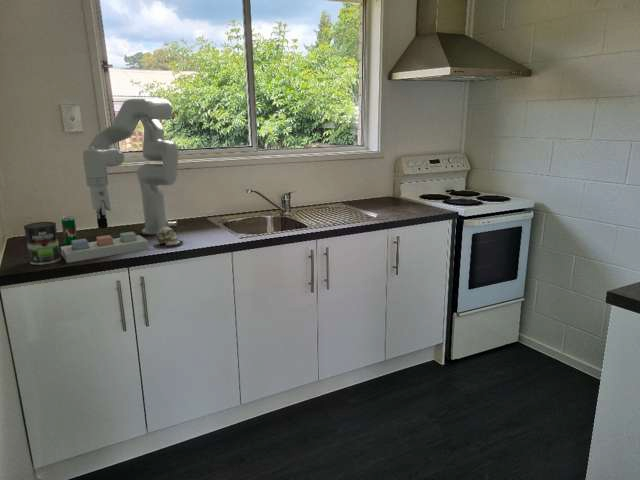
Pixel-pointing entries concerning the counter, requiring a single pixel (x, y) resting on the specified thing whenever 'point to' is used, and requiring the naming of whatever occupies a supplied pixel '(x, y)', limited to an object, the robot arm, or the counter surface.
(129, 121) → the robot arm
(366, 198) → the counter surface
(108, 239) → the terracotta key
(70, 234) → the soda can
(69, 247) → the keypad housing
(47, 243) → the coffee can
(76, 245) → the slate key
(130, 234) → the sage key
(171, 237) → the skull
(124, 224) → the counter surface
